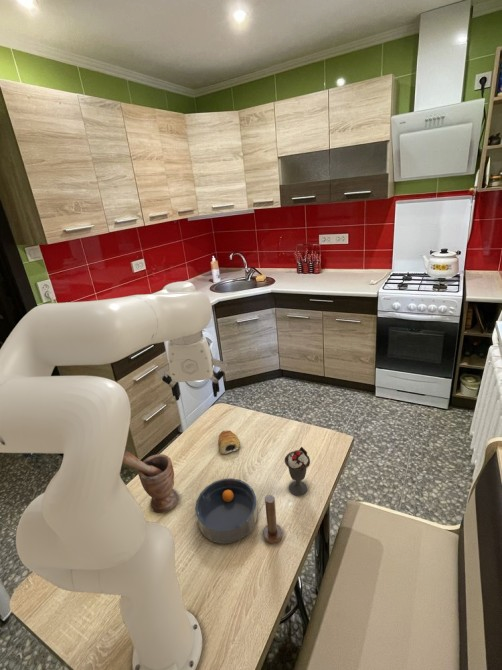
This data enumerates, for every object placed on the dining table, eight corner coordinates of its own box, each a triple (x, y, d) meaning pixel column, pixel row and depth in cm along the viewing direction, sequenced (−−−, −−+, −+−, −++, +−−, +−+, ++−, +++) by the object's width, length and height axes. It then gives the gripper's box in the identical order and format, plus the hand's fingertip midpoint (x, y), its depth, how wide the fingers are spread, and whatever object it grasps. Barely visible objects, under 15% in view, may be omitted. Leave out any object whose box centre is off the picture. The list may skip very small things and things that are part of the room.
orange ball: (234, 504, 91) (232, 496, 90) (222, 505, 91) (221, 496, 90) (234, 494, 94) (233, 486, 92) (223, 495, 94) (222, 487, 92)
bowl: (258, 542, 81) (257, 528, 79) (194, 547, 82) (191, 533, 80) (256, 489, 95) (255, 476, 93) (201, 494, 95) (199, 480, 93)
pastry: (215, 437, 116) (214, 428, 115) (235, 432, 118) (234, 423, 116) (221, 456, 108) (219, 446, 106) (242, 450, 109) (241, 441, 108)
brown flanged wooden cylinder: (282, 543, 81) (280, 506, 76) (264, 544, 81) (260, 508, 76) (281, 526, 85) (278, 490, 80) (263, 527, 85) (259, 491, 80)
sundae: (290, 501, 91) (288, 457, 85) (283, 481, 97) (280, 439, 91) (314, 495, 92) (313, 452, 86) (305, 476, 98) (304, 434, 92)
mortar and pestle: (145, 529, 87) (127, 470, 79) (132, 507, 93) (114, 450, 85) (185, 502, 93) (172, 445, 85) (170, 483, 100) (157, 428, 91)
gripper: (146, 345, 78) (160, 407, 85) (222, 338, 78) (230, 401, 85) (153, 331, 85) (166, 390, 92) (223, 325, 85) (230, 384, 92)
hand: (197, 395), depth 88 cm, fingers open, 9 cm apart
